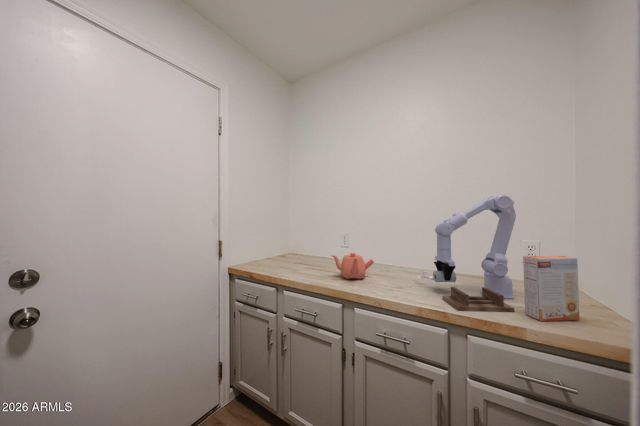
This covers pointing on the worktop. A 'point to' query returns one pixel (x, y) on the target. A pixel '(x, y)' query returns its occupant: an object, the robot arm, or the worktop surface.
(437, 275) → the roll
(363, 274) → the teapot
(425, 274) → the teacup and saucer
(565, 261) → the cracker box
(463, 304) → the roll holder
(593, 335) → the worktop surface
